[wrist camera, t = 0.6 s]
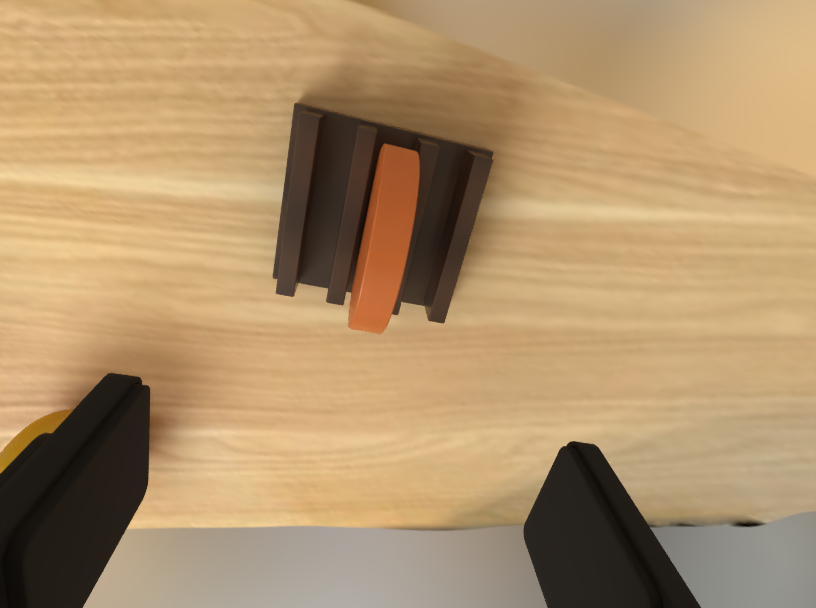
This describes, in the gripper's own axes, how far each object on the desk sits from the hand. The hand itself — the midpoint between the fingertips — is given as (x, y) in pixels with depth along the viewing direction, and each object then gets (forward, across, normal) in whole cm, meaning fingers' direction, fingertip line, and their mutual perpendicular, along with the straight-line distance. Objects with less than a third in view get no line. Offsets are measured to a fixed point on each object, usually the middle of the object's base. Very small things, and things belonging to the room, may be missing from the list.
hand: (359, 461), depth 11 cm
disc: (+18, 0, -1) cm, 19 cm away
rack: (+20, 0, -1) cm, 20 cm away
